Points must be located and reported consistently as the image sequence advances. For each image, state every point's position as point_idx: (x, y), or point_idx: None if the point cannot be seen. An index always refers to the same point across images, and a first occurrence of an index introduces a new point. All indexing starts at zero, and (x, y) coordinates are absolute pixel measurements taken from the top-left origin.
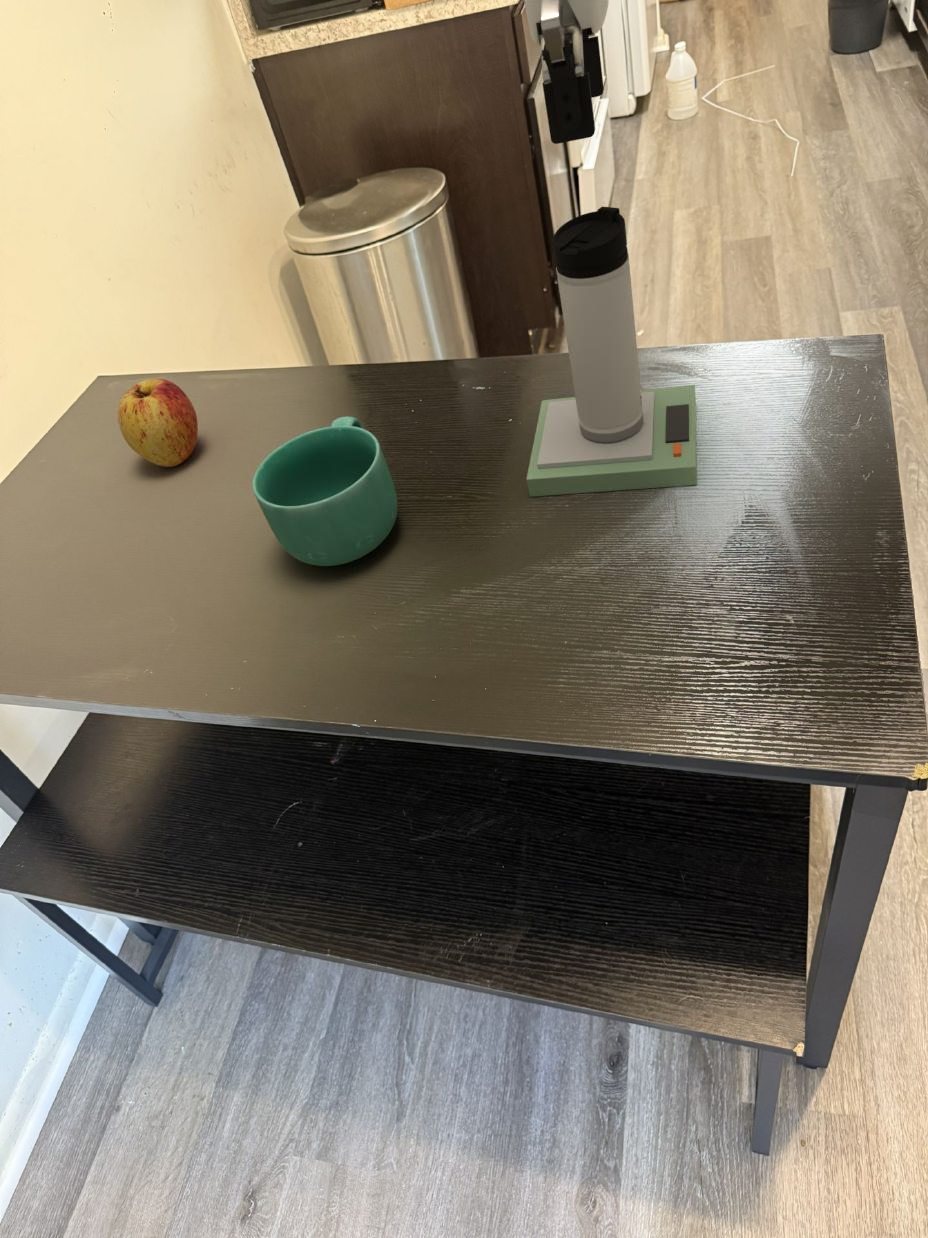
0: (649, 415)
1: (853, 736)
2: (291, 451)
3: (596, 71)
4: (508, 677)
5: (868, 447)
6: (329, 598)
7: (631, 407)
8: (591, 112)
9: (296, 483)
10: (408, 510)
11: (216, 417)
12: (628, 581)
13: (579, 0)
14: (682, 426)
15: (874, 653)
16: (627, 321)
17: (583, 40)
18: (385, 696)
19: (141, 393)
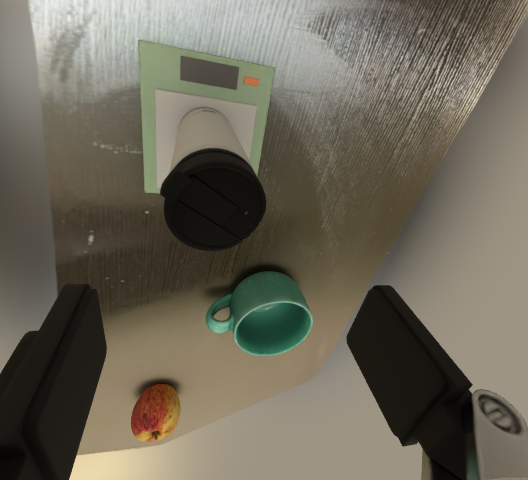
0: (197, 99)
1: (506, 20)
2: (245, 344)
3: (78, 338)
4: (389, 199)
5: None
6: (305, 286)
7: (229, 123)
8: (412, 314)
9: (246, 330)
10: (243, 264)
11: (115, 386)
12: (350, 133)
13: None
14: (218, 69)
15: None
16: (235, 139)
17: (28, 462)
18: (376, 250)
19: (156, 434)
